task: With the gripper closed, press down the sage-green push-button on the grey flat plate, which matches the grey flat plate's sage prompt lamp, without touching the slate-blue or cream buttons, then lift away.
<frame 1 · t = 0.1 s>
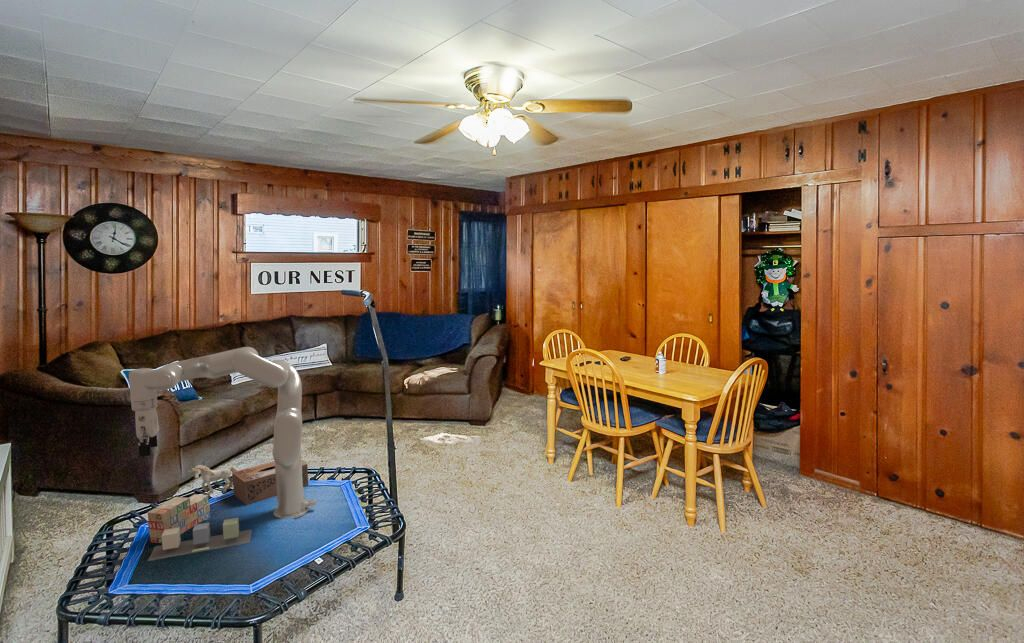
hand: (148, 451, 192), 31 cm above the table, tool pointing down, fingers open, 9 cm apart
grey flat plate: (202, 547, 187), on the table
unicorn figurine: (215, 495, 229), on the table
button slate: (202, 544, 187), point 1 cm above the table, slide at 0.0 cm
button sage: (231, 539, 190), point 1 cm above the table, slide at 0.0 cm
tissue box cover: (271, 491, 233), on the table
button cream: (172, 549, 184), point 1 cm above the table, slide at 0.0 cm
stack of blocks: (182, 531, 199), on the table
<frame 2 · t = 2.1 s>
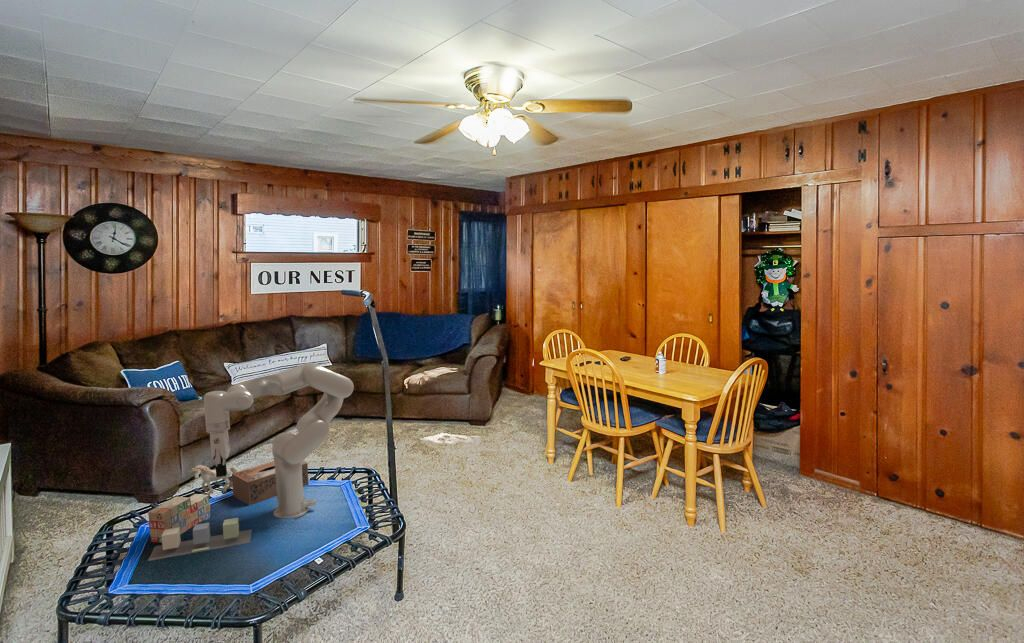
hand: (221, 475, 196), 21 cm above the table, tool pointing down, fingers closed
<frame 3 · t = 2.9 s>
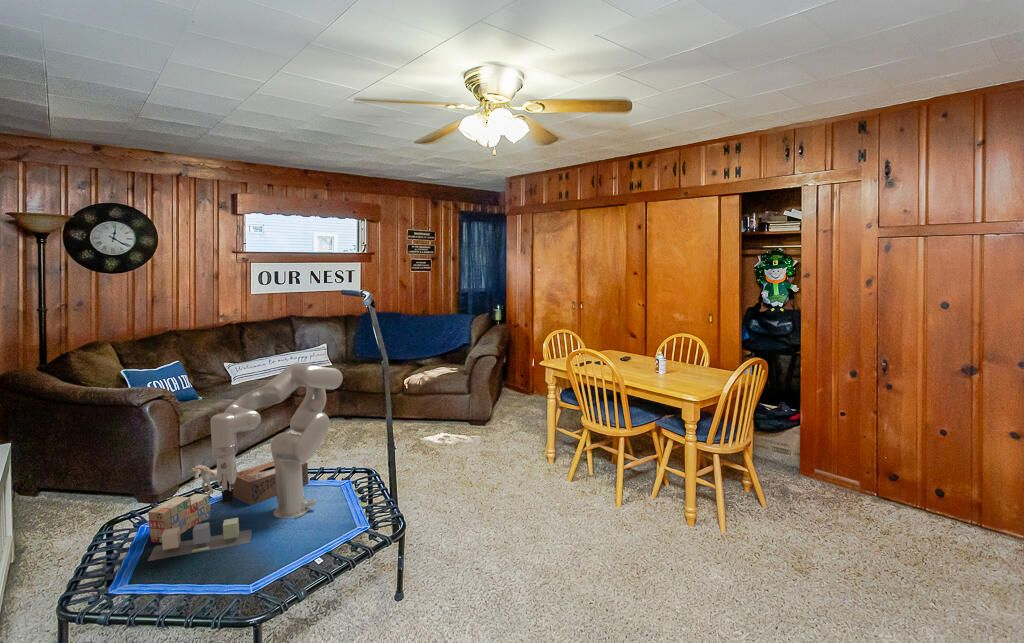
hand: (228, 501, 189), 15 cm above the table, tool pointing down, fingers closed
nothing on the table moved.
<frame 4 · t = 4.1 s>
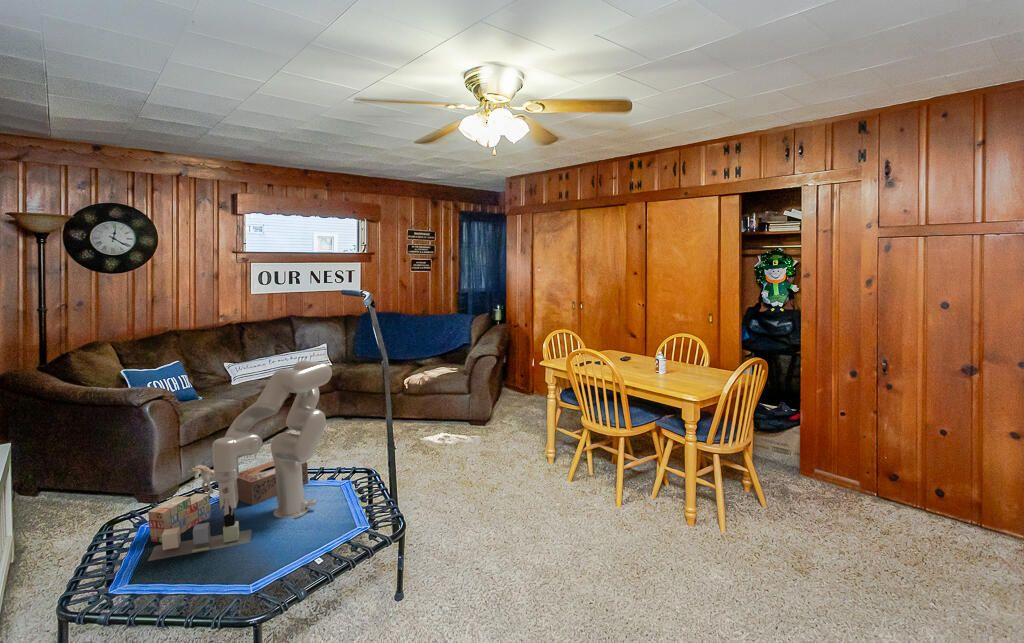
hand: (229, 525, 189), 6 cm above the table, tool pointing down, fingers closed
button sage: (232, 542, 190), resting on grey flat plate, slide at 1.2 cm, touching gripper
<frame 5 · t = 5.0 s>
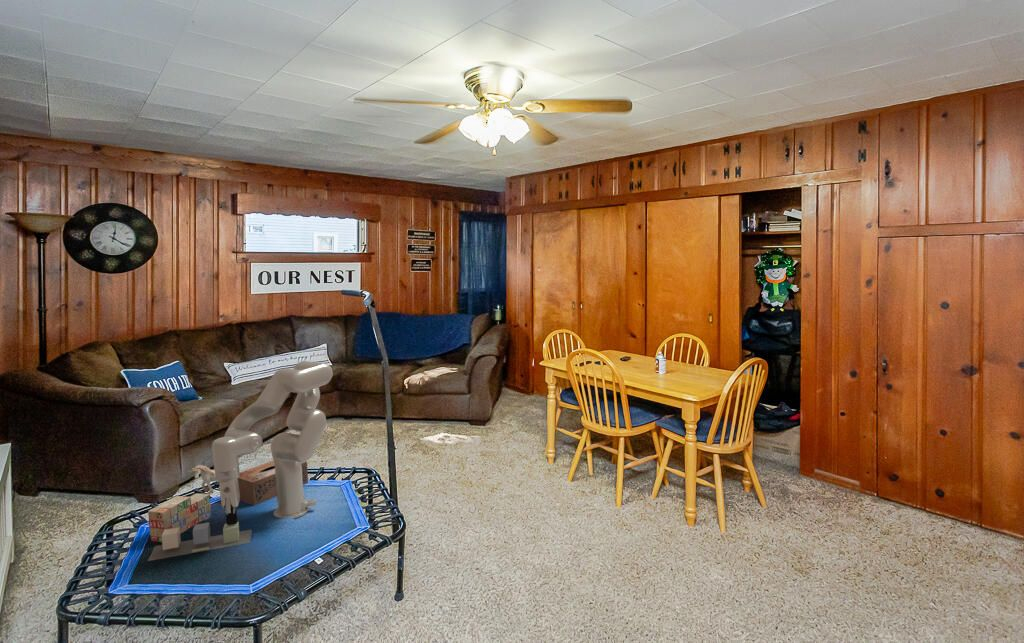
hand: (232, 523, 190), 7 cm above the table, tool pointing down, fingers closed
button sage: (232, 543, 190), resting on grey flat plate, slide at 1.5 cm
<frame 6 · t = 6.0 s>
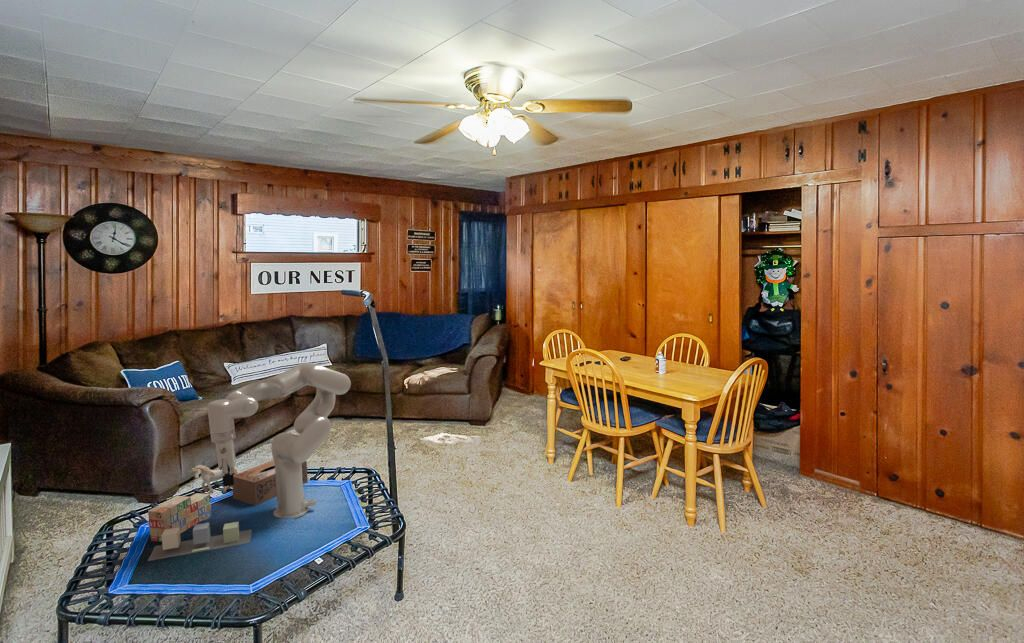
hand: (229, 484, 193), 19 cm above the table, tool pointing down, fingers closed
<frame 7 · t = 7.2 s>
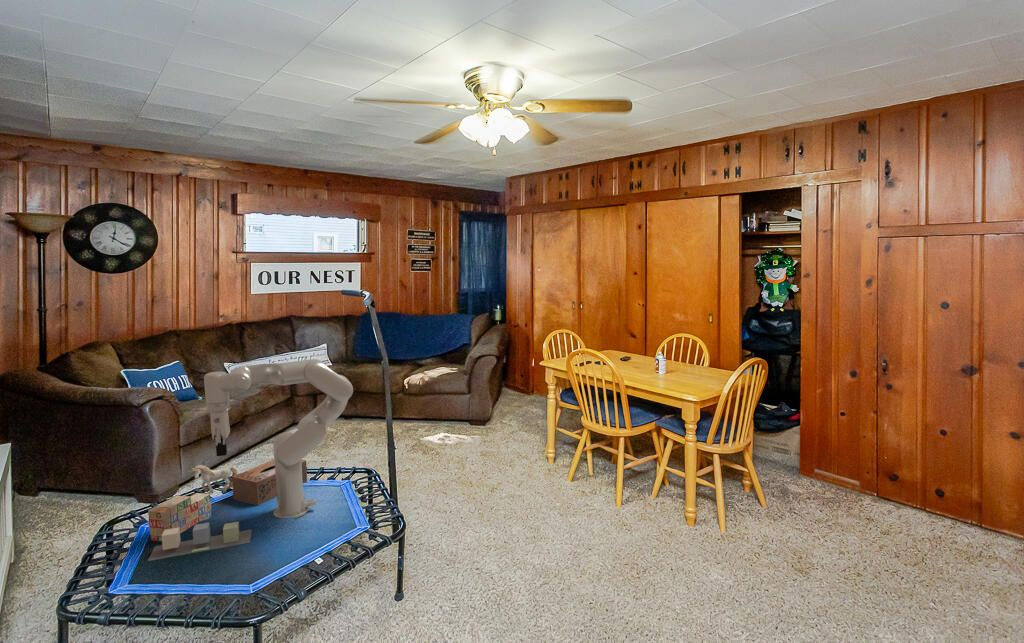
hand: (221, 455, 199), 27 cm above the table, tool pointing down, fingers closed
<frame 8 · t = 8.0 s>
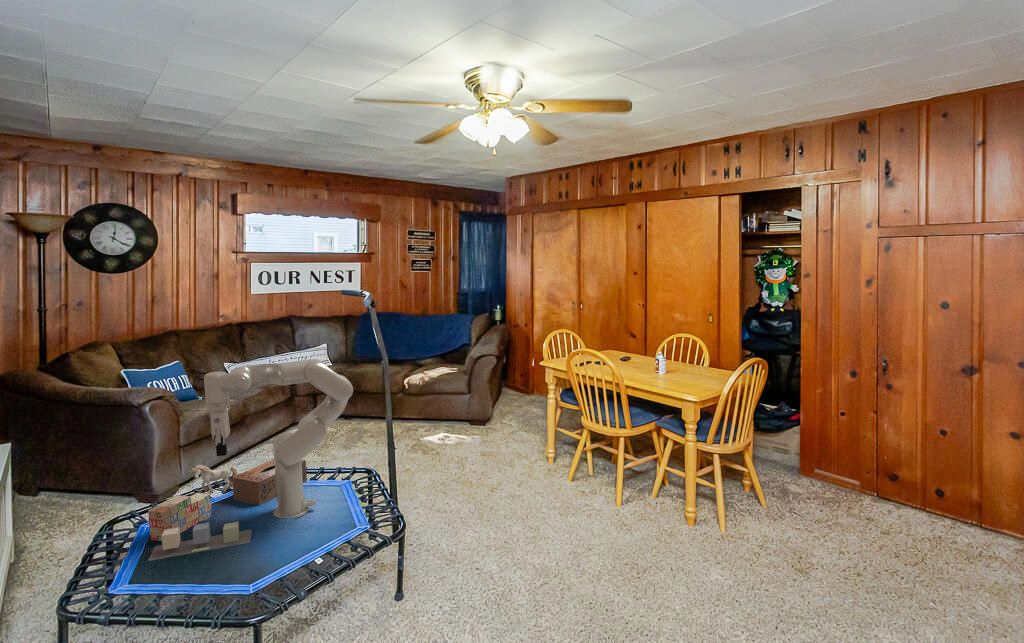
hand: (221, 455, 199), 27 cm above the table, tool pointing down, fingers closed
at the end: button sage slide at 1.5 cm; button slate slide at 0.0 cm; button cream slide at 0.0 cm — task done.
